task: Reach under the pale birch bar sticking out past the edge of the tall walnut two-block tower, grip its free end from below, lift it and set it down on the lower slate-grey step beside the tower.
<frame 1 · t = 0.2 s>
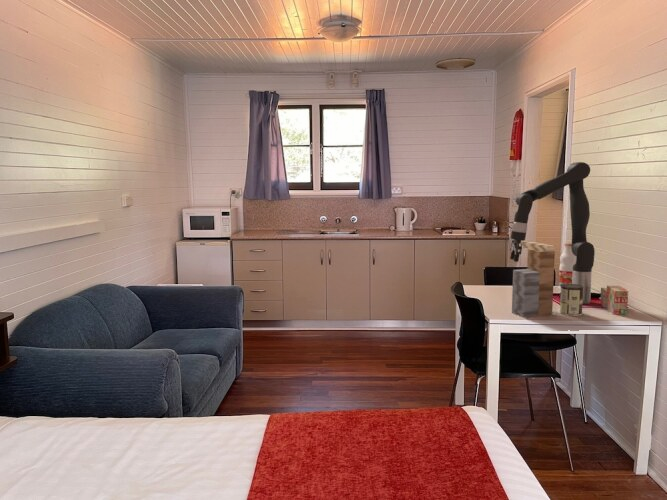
hand: (514, 260, 278), 23 cm above the table, tool pointing down, fingers open, 8 cm apart
stepped stand: (538, 313, 258), on the table
coffee can: (570, 313, 257), on the table
stack of blocks: (613, 310, 263), on the table
birch bar: (537, 249, 256), point 32 cm above the table, touching stepped stand
fruit juice: (566, 290, 310), on the table
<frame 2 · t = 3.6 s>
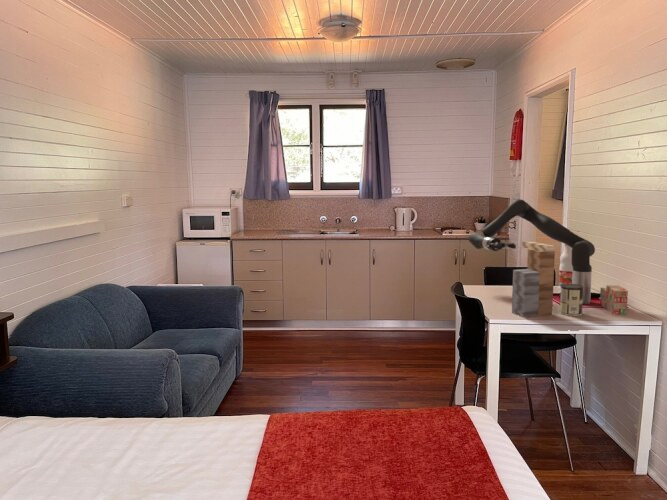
hand: (508, 247, 281), 30 cm above the table, tool horizontal, fingers open, 8 cm apart
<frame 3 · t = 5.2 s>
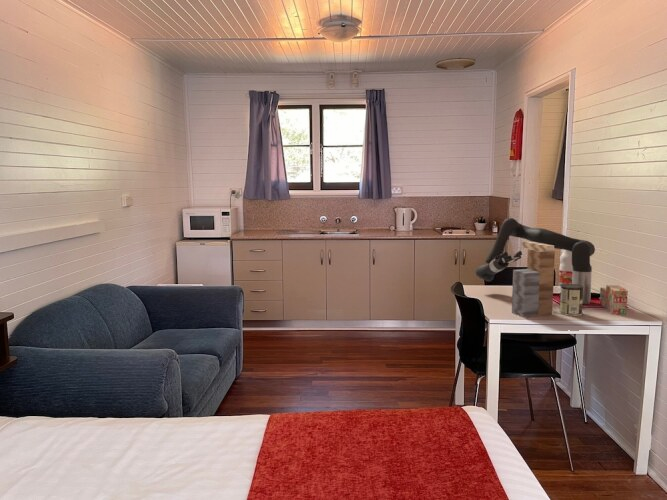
hand: (514, 253, 276), 28 cm above the table, tool pointing upward, fingers open, 8 cm apart
nothing on the table moved.
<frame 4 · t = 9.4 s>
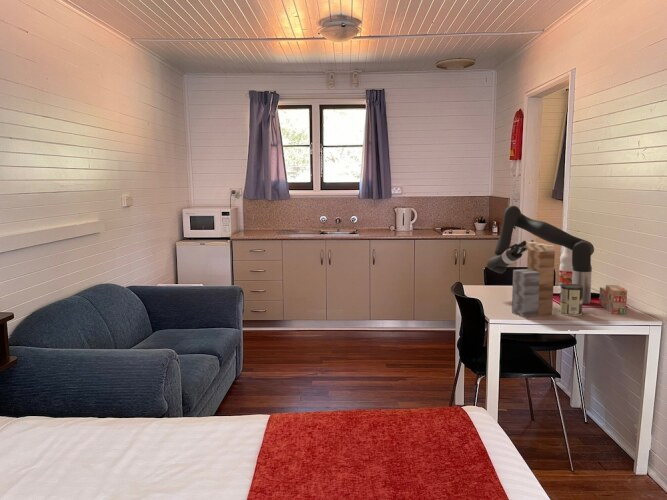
hand: (529, 242, 262), 35 cm above the table, tool pointing upward, fingers closed on birch bar, 4 cm apart
birch bar: (537, 249, 256), point 32 cm above the table, touching gripper, stepped stand
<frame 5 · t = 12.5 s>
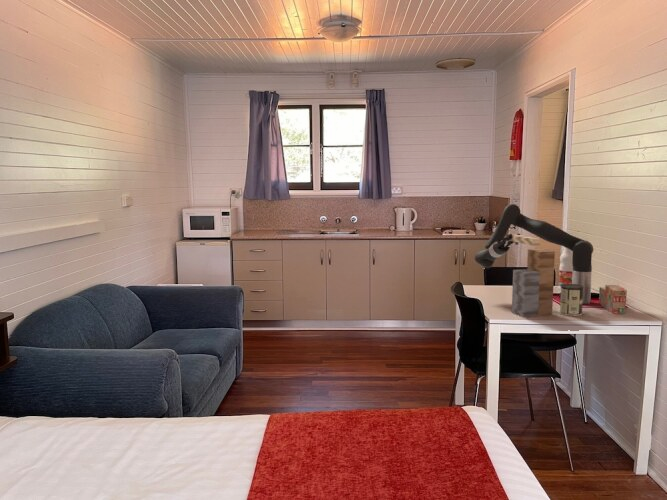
hand: (515, 235, 260), 39 cm above the table, tool pointing upward, fingers closed on birch bar, 4 cm apart
birch bar: (523, 242, 254), point 36 cm above the table, touching gripper
when the fingers open (26 cm above the table, at t = 15.7 s): birch bar drops 1 cm, resting on stepped stand.
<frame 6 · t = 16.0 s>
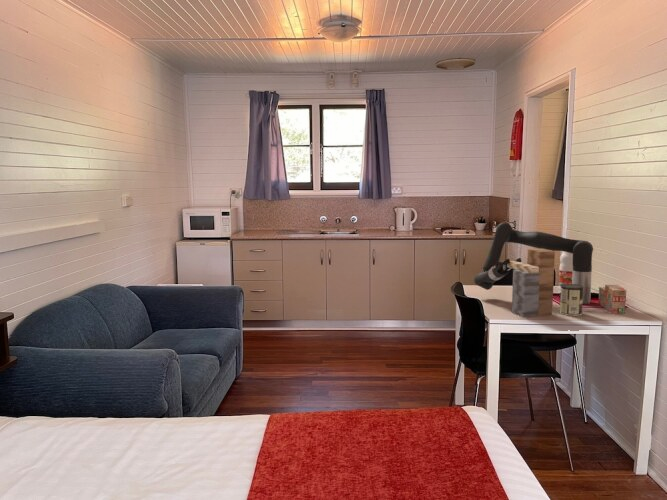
hand: (514, 260, 262), 26 cm above the table, tool pointing upward, fingers open, 6 cm apart
birch bar: (522, 270, 256), point 22 cm above the table, touching stepped stand
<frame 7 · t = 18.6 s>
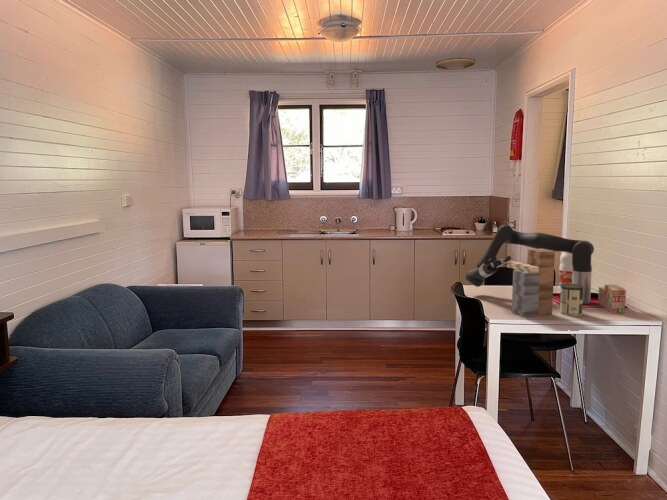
hand: (503, 257, 272), 26 cm above the table, tool pointing upward, fingers open, 8 cm apart
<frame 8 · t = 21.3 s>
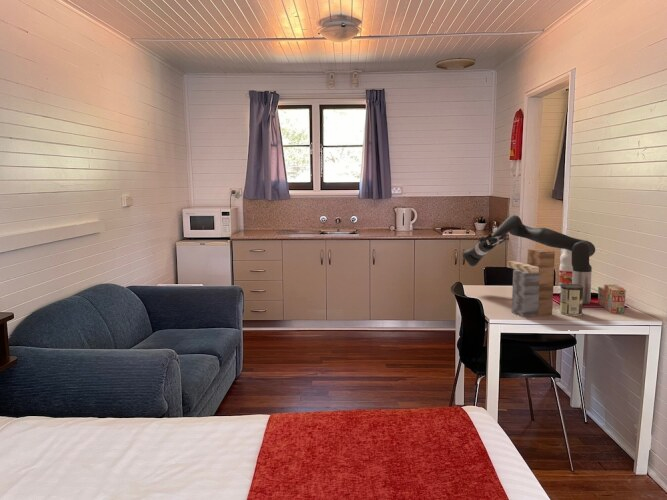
hand: (498, 235, 279), 37 cm above the table, tool pointing upward, fingers open, 8 cm apart
at the end: birch bar 0.3 cm from the target spot on the stepped stand, point 22.0 cm above the stepped stand's base; birch bar tilted 0°; the gripper is holding nothing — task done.
